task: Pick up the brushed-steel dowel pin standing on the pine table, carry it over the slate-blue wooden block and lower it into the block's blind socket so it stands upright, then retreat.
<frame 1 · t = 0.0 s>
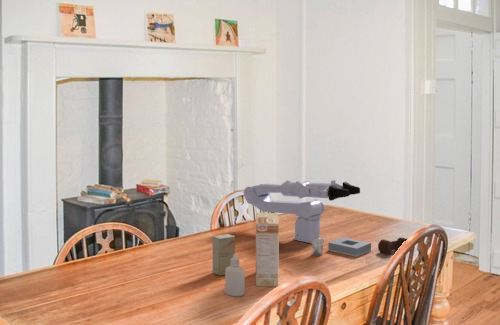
hand: (354, 191, 210), 22 cm above the table, tool horizontal, fingers open, 7 cm apart
pin: (317, 254, 207), on the table
skincare box: (223, 273, 186), on the table
hole block: (349, 250, 212), on the table
coffeecake box: (266, 279, 181), on the table
bolt: (397, 251, 212), on the table
eye dropper bottle: (234, 294, 167), on the table
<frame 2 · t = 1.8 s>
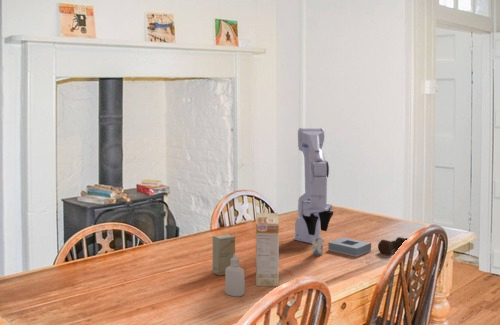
hand: (317, 232, 206), 8 cm above the table, tool pointing down, fingers open, 7 cm apart
nothing on the table moved.
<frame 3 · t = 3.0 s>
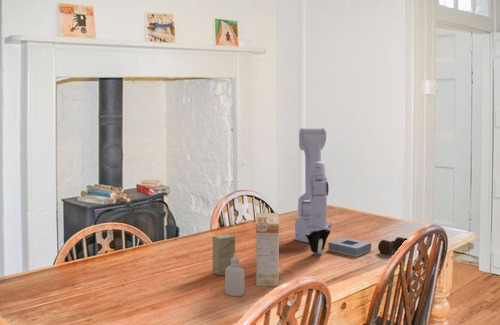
hand: (317, 250, 206), 1 cm above the table, tool pointing down, fingers closed on pin, 4 cm apart
pin: (317, 254, 207), on the table, touching gripper
everything else where it was.
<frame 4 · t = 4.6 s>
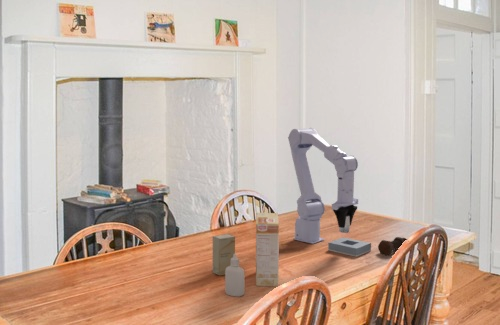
hand: (344, 226, 209), 9 cm above the table, tool pointing down, fingers closed on pin, 4 cm apart
pin: (344, 231, 210), point 7 cm above the table, touching gripper
everything else where it was.
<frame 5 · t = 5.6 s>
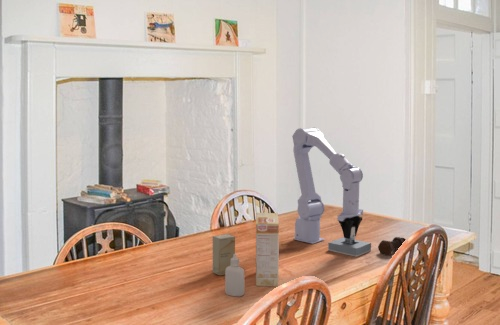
hand: (350, 237, 211), 5 cm above the table, tool pointing down, fingers closed on pin, 4 cm apart
pin: (349, 242, 211), point 3 cm above the table, touching gripper
when the fingers open (4 cm above the table, at t = 6.3 s): pin drops 1 cm, resting on hole block.
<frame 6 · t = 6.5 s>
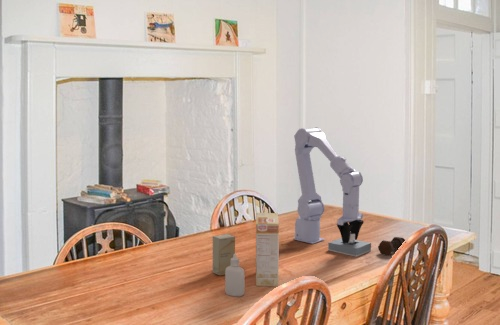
hand: (349, 240, 211), 4 cm above the table, tool pointing down, fingers open, 5 cm apart
pin: (349, 249, 212), point 1 cm above the table, touching hole block
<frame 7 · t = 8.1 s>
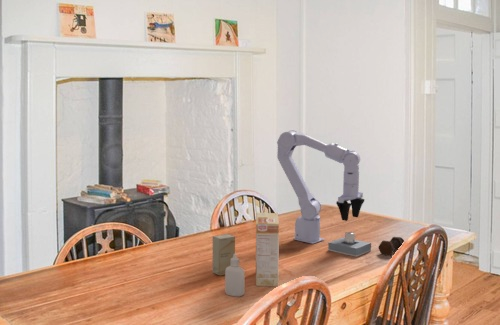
hand: (350, 218, 220), 10 cm above the table, tool pointing down, fingers open, 7 cm apart
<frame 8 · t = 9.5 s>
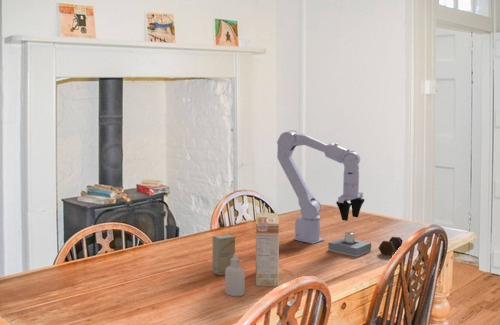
hand: (350, 218, 220), 10 cm above the table, tool pointing down, fingers open, 7 cm apart
at the end: pin 0.1 cm off-centre on the hole block, point 0.6 cm above the hole block's base; pin tilted 2°; the gripper is holding nothing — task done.
